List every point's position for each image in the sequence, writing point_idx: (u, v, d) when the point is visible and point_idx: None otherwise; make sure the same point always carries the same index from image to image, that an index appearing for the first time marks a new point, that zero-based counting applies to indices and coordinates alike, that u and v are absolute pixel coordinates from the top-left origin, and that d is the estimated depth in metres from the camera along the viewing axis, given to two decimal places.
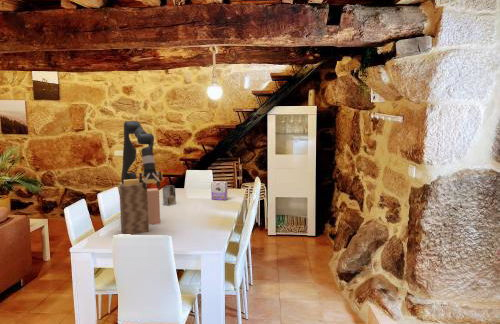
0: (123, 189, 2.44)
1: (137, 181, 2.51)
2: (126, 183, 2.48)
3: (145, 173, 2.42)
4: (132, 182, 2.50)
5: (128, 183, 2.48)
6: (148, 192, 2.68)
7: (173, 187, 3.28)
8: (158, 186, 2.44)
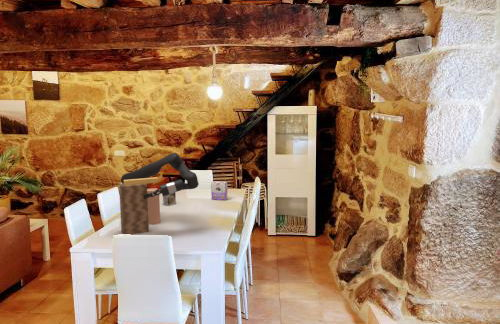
0: (123, 189, 2.44)
1: (137, 181, 2.51)
2: (126, 183, 2.48)
3: None
4: (132, 182, 2.50)
5: (128, 183, 2.48)
6: (148, 192, 2.68)
7: None
8: None
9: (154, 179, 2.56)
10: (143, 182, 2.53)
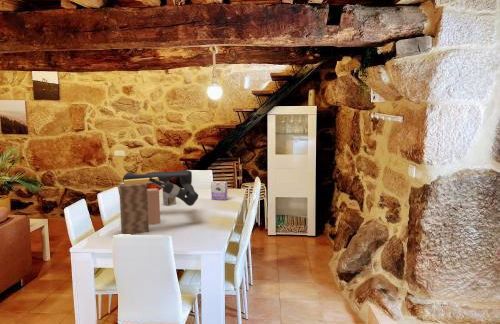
0: (123, 189, 2.44)
1: (137, 181, 2.51)
2: (126, 183, 2.48)
3: (162, 186, 2.57)
4: (132, 182, 2.50)
5: (128, 183, 2.48)
6: (148, 192, 2.68)
7: None
8: None
9: None
10: (143, 182, 2.53)
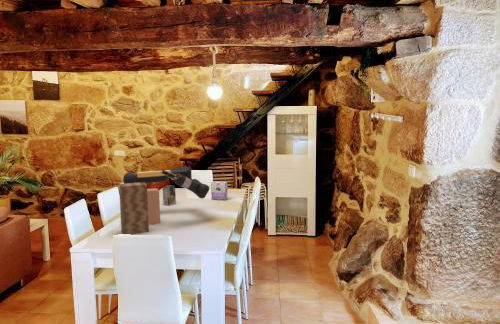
0: (123, 189, 2.44)
1: (150, 173, 2.57)
2: (140, 175, 2.54)
3: (174, 179, 2.63)
4: (146, 175, 2.56)
5: (142, 175, 2.55)
6: (148, 192, 2.68)
7: (173, 187, 3.28)
8: None
9: None
10: (156, 174, 2.59)
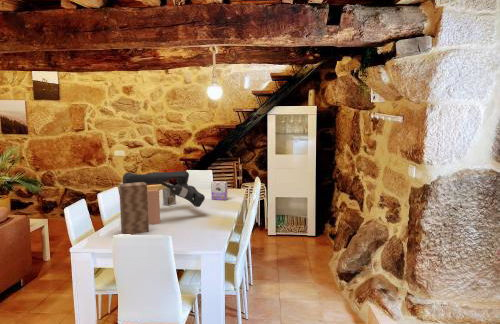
0: (123, 189, 2.44)
1: (149, 187, 2.70)
2: None
3: None
4: None
5: None
6: (148, 192, 2.68)
7: None
8: (159, 182, 2.79)
9: None
10: (154, 188, 2.72)
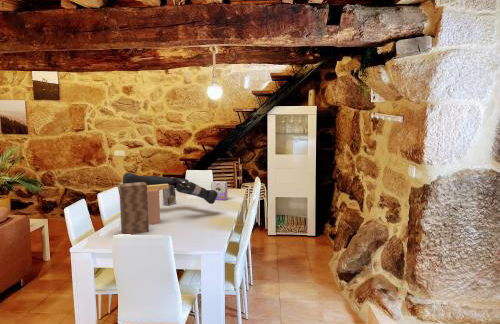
0: (123, 189, 2.44)
1: (149, 187, 2.70)
2: None
3: None
4: None
5: None
6: (148, 192, 2.68)
7: (173, 187, 3.28)
8: (173, 180, 2.84)
9: (164, 185, 2.75)
10: (154, 188, 2.72)
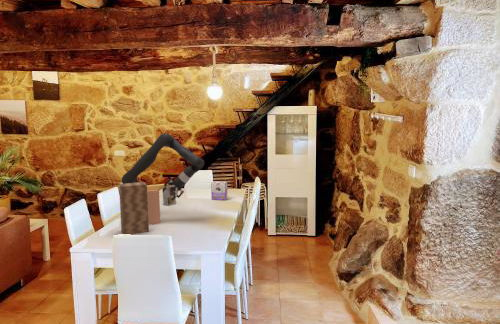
0: (123, 189, 2.44)
1: (149, 187, 2.70)
2: None
3: None
4: None
5: None
6: (148, 192, 2.68)
7: None
8: None
9: (164, 185, 2.76)
10: (154, 188, 2.72)
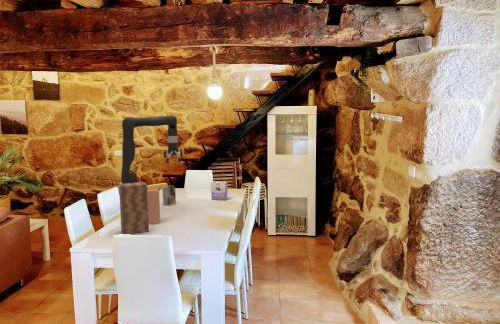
0: (123, 189, 2.44)
1: (150, 187, 2.72)
2: None
3: None
4: None
5: None
6: (148, 192, 2.68)
7: (173, 187, 3.28)
8: None
9: (164, 184, 2.79)
10: (155, 188, 2.74)
